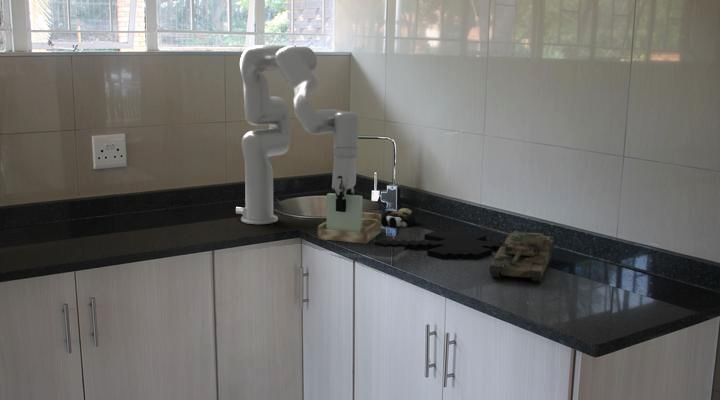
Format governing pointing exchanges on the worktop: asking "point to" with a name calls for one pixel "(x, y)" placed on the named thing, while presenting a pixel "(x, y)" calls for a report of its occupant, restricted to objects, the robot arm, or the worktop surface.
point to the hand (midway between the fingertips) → (344, 208)
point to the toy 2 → (523, 256)
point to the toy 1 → (398, 218)
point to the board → (345, 214)
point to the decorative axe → (449, 245)
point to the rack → (367, 232)
